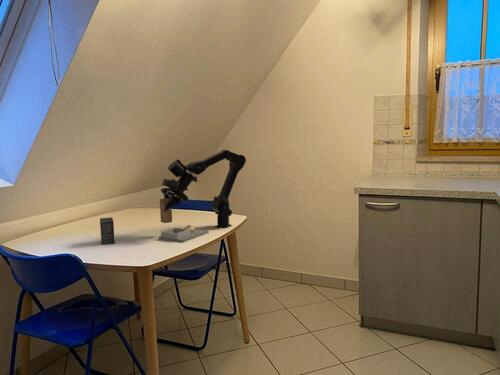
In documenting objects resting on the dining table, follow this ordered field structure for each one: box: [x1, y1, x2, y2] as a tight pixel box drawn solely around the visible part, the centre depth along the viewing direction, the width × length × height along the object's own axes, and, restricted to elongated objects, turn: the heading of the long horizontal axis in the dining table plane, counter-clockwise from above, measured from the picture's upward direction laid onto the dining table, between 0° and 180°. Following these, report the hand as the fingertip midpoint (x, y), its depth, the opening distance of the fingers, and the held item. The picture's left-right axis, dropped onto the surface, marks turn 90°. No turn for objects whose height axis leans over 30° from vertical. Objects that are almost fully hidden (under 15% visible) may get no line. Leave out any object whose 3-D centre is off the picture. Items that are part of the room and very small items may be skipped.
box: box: [99, 216, 116, 246], centre depth 187 cm, size 8×6×11 cm
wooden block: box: [159, 198, 173, 224], centre depth 196 cm, size 4×4×11 cm
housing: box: [158, 224, 209, 243], centre depth 197 cm, size 20×14×4 cm
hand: (163, 208), depth 195 cm, fingers closed on wooden block, 4 cm apart
